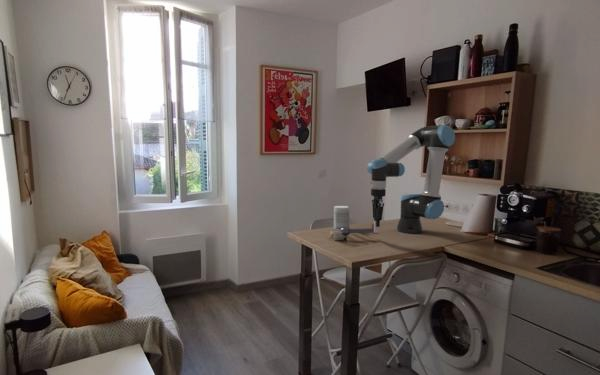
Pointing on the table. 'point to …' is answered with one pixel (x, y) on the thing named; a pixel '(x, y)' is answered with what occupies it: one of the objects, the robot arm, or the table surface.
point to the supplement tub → (341, 217)
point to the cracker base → (356, 240)
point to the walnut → (332, 234)
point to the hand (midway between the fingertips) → (376, 232)
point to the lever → (346, 231)
